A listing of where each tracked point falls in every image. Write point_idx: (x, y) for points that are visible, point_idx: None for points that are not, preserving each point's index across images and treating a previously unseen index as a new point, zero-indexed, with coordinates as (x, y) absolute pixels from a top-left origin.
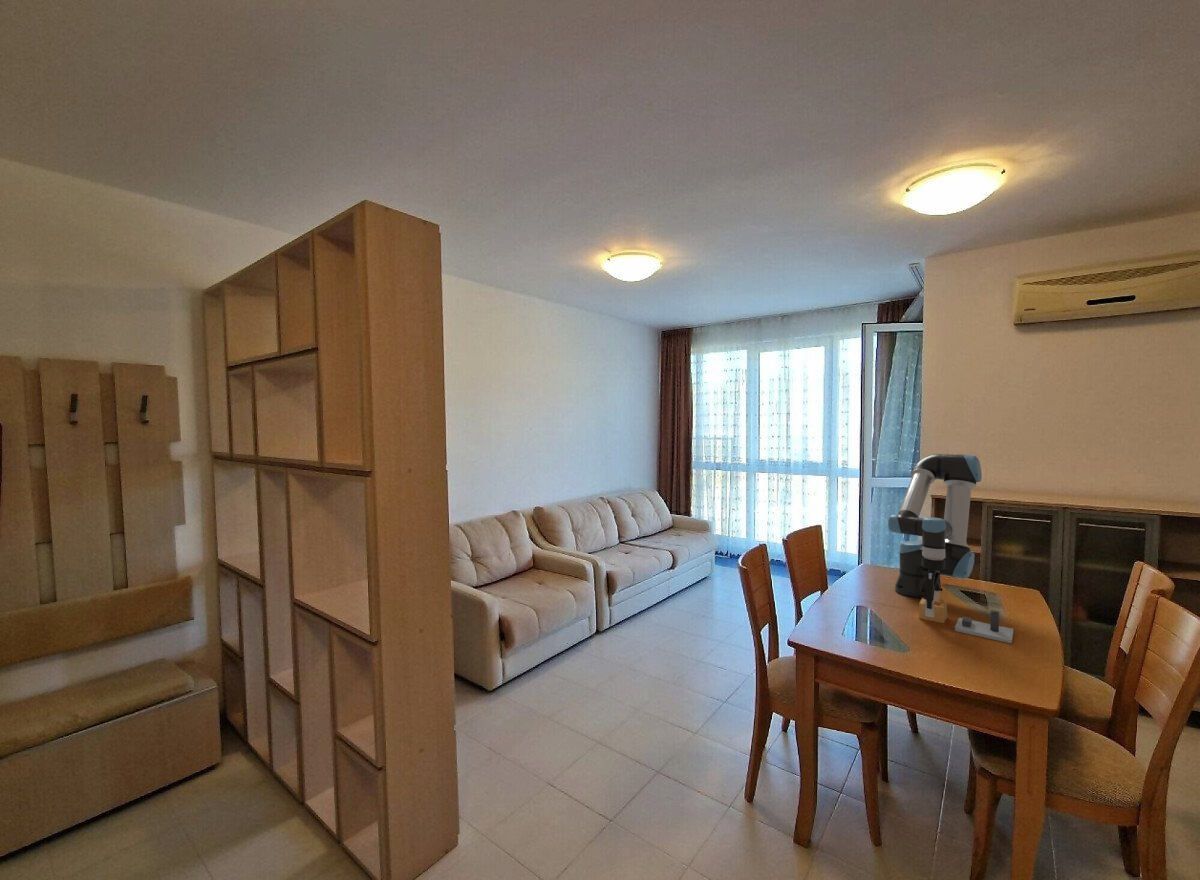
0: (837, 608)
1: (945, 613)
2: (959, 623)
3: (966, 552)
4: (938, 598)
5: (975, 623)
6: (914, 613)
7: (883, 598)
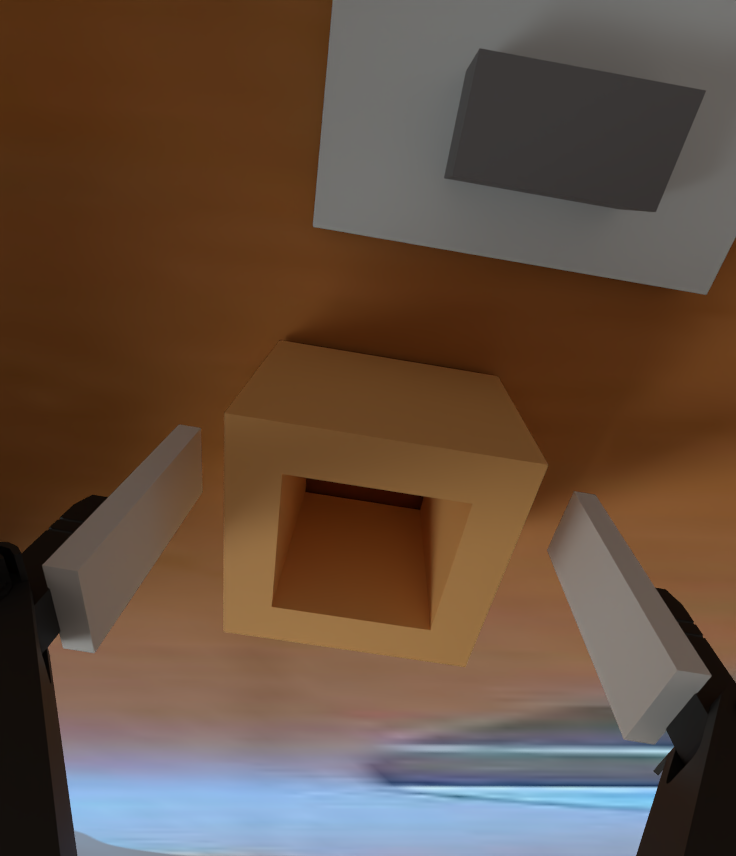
0: (480, 833)
1: (382, 385)
2: (540, 235)
3: None
4: (147, 505)
5: (447, 11)
6: None
7: (134, 695)
